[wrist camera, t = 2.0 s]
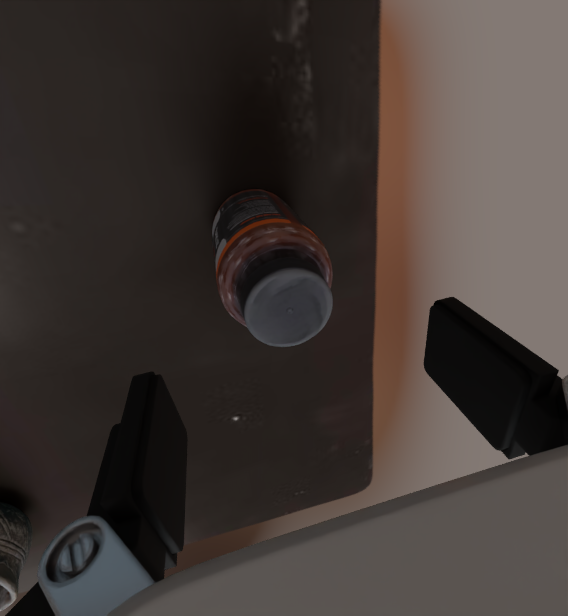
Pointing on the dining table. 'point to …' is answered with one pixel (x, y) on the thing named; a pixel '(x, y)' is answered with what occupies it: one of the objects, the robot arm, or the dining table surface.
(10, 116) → the dining table surface
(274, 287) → the supplement bottle
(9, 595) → the mug
